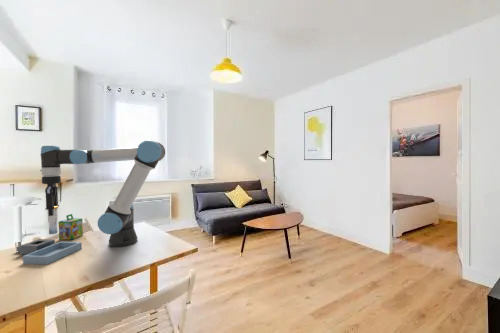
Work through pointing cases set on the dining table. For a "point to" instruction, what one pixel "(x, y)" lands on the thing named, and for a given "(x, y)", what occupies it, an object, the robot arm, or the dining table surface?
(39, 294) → the dining table surface
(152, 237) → the dining table surface
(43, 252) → the tray
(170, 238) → the dining table surface
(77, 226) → the green lunch box
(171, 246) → the dining table surface
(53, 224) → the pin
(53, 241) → the hitch block
